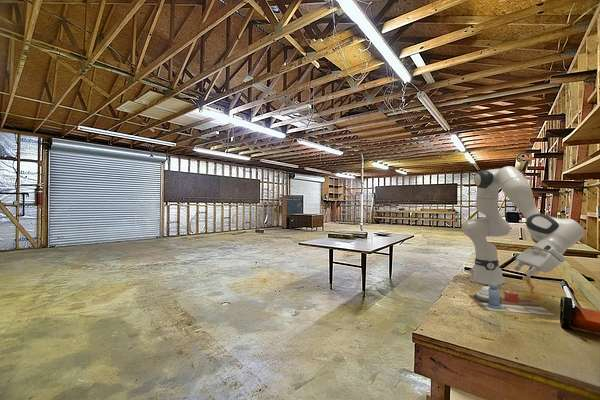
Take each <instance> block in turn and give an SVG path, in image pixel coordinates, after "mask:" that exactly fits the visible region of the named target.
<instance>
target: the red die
mask: <svg viewBox="0 0 600 400" xmlns="http://www.w3.org/2000/svg"><path fill="white" fill-rule="evenodd" d="M504 297H505V300H506V301H508V302H515V303H519V298H520V297H519V293H517V292H516V291H509V290H504Z"/></svg>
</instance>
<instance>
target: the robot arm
mask: <svg viewBox="0 0 600 400" xmlns="http://www.w3.org/2000/svg"><path fill="white" fill-rule="evenodd" d="M473 181H474V185H475V187H477V189H476V196H475V210H476V211H477V212H478V213H481V214H482V215H484V216H485V217H484V218H472V219H467V220H464V221H463V222H462V224H461V231H462V233H463V235H466V237H468V238H469V239H470V240H471V241H472V243H473V246H474V250H475V258H474V265H473V266H472V267H471V268H470V269H469V273H470V274H467V278H468V277H469V278H468V280H469V282H471V281H472V283H478V284H483V285H486V286H487V285H488V286H489V285H490V283H496V284H497V285H498V286H500V285H503V284H506V283H507V282H506V281H505V280H504V279H503V271H502V268H500V267H499V265H500V264H499V262H500V261H499V259H498V248H497V246H496V244H494V243H492V242H489V241H488V240H487V238H488V237H489V238H490V237H492V238H493V237H494V238H496V237H497V238H498V237H505V236H507V235H509V234H510V232H511V225H510V223H509V222H508V221H507V220H505V219H504V218H503V217H502V215H501V213H500V211H499V191H500V189H501V191H502V192H503V194H505V196H506V197H507V198H508V199H509V201H511V203H513V205H514V206H515V207H516V208H517V209H518V210H519V211H520V213H521V215H523V217H524V219H525V220H526V221H525V225H526V228H527V230H528V232H529V234H530V237H531V240H532V241H533V243H534V245H533V247H532V248H530V247H529V248H526V249H525V250H523V251H522V252H521V253H519V254H518V255H516V257H515V259H516V260H517V263H516V265H515V266H514V267H513V270H514V271H517V272H520V271H521V270H522V267H525V266H527V267H530V269H528V270H527V269H526V271H525V272H524V274H525V275H526V276H529V277H531V276H533V275H535V274H537V273H539V272H542V273H550V272H552V271H553V270H554V269H555V268H556V267H558V266H559V265H560V264H561V263H564V262H565V261H567V258H566V257H565V256H564V254H565V253H566V251H567V250H568V249H569V248H572V247H573V246H574V245H576V244H577V243H578V242H579V241H580V240H581V239H582V238H583V237H584V235H585V233H586V231H585V228H584V227H583V226H582V224H581V223H580V222H579V221H577V220H576V219H573V218H559V217H554V216H549V215H547V214H544V213H540V211H539V209H538V207H537V205H536V202H535V198H534V194H533V190H532V188H531V184H530V183H529V181H528V180H527V178H526V177H525V175H524V174H523V173H522V172H521V171H520V170H519V169H517V168H516V167H514V166H513V165H512V166H511V165H510V166H509V165H508V166H504V167H502V168H494V169H492V168H491V169H483V170H479V171H477V172H476V173H475V174H474V176H473Z"/></svg>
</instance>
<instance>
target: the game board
mask: <svg viewBox="0 0 600 400" xmlns="http://www.w3.org/2000/svg"><path fill="white" fill-rule="evenodd" d="M467 296H468V297H469V298H470V299H471V300H472V301H473V302H474V303H475V304H476V305H477V306H478V307H480V309H482V311H486V312H487V311H488V312H500V313H514V314H525V315H526V314H528V315H541V316H552V317H553V316H554V317H556V316H557V315H556V314H554V313H553V312H551V311H550V310H548V309H546V308H545V307H543V306H541V305H539V304H538V303H536V302H534V301H533V300H532V299H529V298H528V297H518V298H519V303H515V302H508V301H506V300H505V296H500V305H502V309H493V308H490V307H488V305H487V303H489V300H486V299H481V298H479V297H477V296H476V293H475V294H467ZM492 315H494V316H496V314H495V313H494V314H492ZM505 316H509V315H507V314H506V315H505ZM518 317H521V318H522V316H518ZM531 318H535V317H532V316H531ZM544 319H545V320H548V318H544Z"/></svg>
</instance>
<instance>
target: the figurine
mask: <svg viewBox="0 0 600 400" xmlns="http://www.w3.org/2000/svg"><path fill="white" fill-rule="evenodd" d="M523 280H524V282H525V283H526V285H527V286H528V288H529V289H530V292H531V293H530V294H529V298H530V299H531V300H532V299H533V300H541V295H540V294H539V293H538V292H536V291H534V288H535V285H533V282H532V281H531V276H530V277H529V276H527V275H526V276H523Z"/></svg>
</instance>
